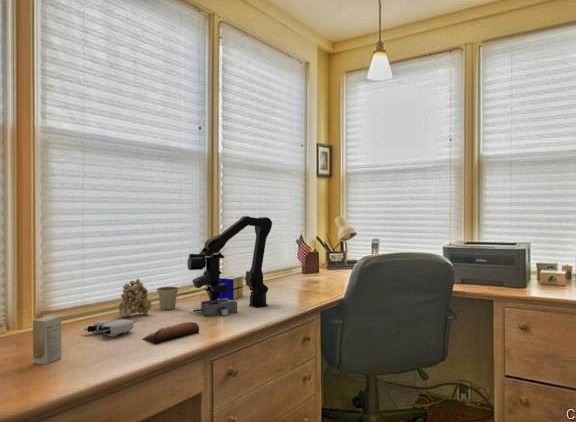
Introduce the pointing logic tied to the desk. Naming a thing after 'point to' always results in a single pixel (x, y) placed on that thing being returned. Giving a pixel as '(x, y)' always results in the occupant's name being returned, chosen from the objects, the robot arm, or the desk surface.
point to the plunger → (221, 310)
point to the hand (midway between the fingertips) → (212, 305)
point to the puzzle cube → (232, 287)
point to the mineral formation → (134, 299)
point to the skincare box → (47, 339)
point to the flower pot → (167, 297)
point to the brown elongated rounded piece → (172, 332)
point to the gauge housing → (216, 308)
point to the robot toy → (111, 327)
